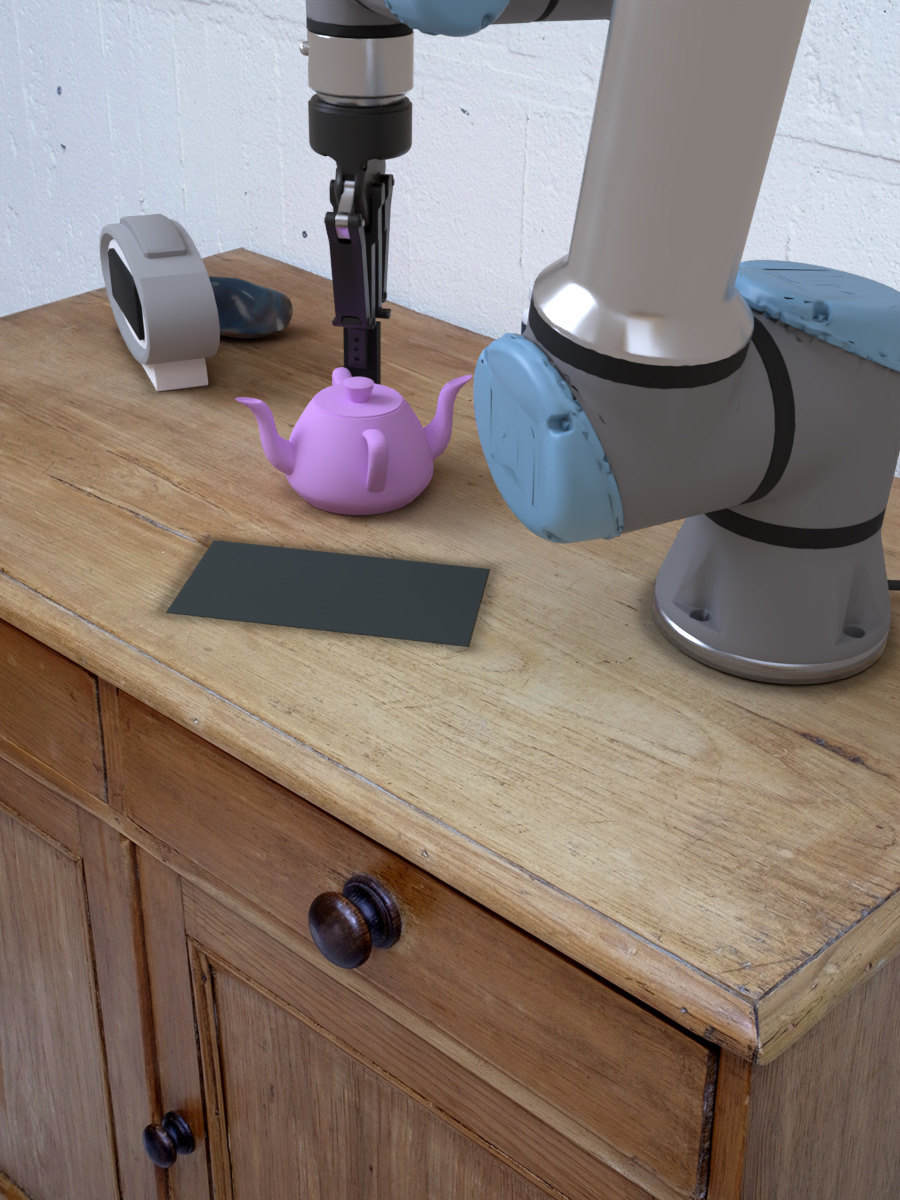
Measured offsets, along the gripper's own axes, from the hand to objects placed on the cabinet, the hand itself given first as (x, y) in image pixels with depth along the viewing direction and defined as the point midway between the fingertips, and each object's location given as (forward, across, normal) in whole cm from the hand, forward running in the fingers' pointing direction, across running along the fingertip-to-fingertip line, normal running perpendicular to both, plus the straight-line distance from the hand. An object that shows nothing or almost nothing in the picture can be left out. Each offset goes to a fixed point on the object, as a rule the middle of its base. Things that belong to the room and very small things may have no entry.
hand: (362, 399), depth 107 cm
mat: (+4, +23, +3) cm, 24 cm away
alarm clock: (+4, -15, -23) cm, 28 cm away
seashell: (+5, -24, -18) cm, 30 cm away
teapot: (+4, +8, +1) cm, 9 cm away
